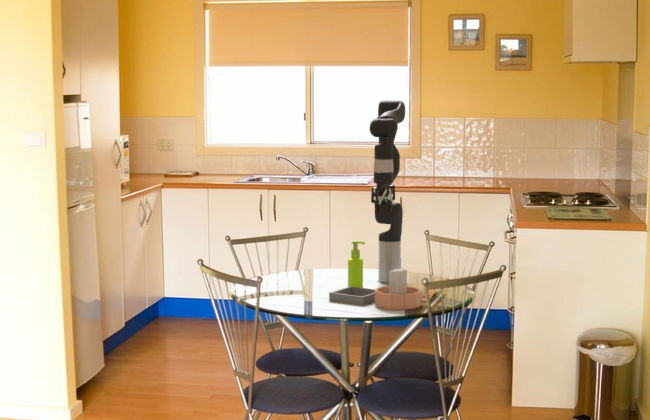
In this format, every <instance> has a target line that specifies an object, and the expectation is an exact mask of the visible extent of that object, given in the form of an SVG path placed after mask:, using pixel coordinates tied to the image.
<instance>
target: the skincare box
mask: <svg viewBox="0 0 650 420" xmlns="http://www.w3.org/2000/svg"><path fill="white" fill-rule="evenodd" d="M407 272H408V270H407V269H403V268H401V269H395V270H391V271H389V283H388V286H389V294H406V293H407V285H408V284H407V283H408V282H407V278H408V273H407Z"/></svg>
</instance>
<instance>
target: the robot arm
mask: <svg viewBox="0 0 650 420" xmlns="http://www.w3.org/2000/svg"><path fill="white" fill-rule="evenodd" d="M405 117H406V106H405V103H404V102H403V101H401V100H392V99H391V100H388V99H387V100H380V101H379V102H378V108H377V117H375V118H373V119H372V120H371V122H370V124H369V133H370V135H372V137H374V138H378V143H377V144H375V145H374V150H373V151H374V161H373V183H374V184H376V187H375V186H371V191H370V192H371V196H370V200H371V201H370V202H371V204H374V218H375V222H376V223H378V224H381V225H390V227H389V229H387V230H386V231H383V232H380V233H378V282H380V283H385V284H387V283H388V284H389V271H391V270H395V269H402V257H401V256H402V255H401V252H402V247H401V244H402V243H401V242H402V241H401V240H402V230H403V217H404V216H403V213H404V212H403V206H402V204H401V203H400V202H395V200H396V185H395V184H393V183H394V181H395V180H396V178H397V176H398V174H399V172H400V169H401V168H400V164H401V163H400V162H401V155H400V152H399V149H398V148H397V146H396V144H395V139H396V135H397V134H398V126H399V124H400V123H402V122H404V120H405Z"/></svg>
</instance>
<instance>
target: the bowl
mask: <svg viewBox="0 0 650 420" xmlns="http://www.w3.org/2000/svg"><path fill="white" fill-rule="evenodd" d="M374 289H375V301H374V306H375V307H377V308H379V309H382V310H383V309H385V310H393V311H404V310H406V311H407V310H415V309H418V308H420V307H421V306H422V289H421V288H418V287H416V286H409V285H408V286H407V293H406V294H389V285H387V286H379V287H377V288H374Z"/></svg>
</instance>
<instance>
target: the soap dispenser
mask: <svg viewBox="0 0 650 420" xmlns="http://www.w3.org/2000/svg"><path fill="white" fill-rule="evenodd" d="M351 244H353V246H352V249H351V250H350V252H351V255H350V256H351V257H349V258H347V287H350V286H352V287H360V288H364V259H363V258H362V257H360V256H361V251H360V249H359V248H358V246H359V245H360V244H361V245H365V244H366V242H365V241H358V240H355V241H352V242H351ZM358 244H359V245H358Z"/></svg>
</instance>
